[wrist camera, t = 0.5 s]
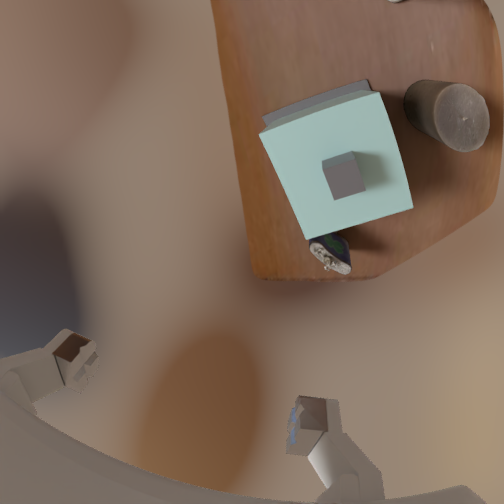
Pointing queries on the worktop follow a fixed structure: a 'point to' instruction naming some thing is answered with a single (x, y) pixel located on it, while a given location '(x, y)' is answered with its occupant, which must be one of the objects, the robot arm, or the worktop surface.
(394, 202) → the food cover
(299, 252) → the worktop surface
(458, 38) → the worktop surface
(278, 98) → the worktop surface
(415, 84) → the pillar candle
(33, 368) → the robot arm
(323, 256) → the flask
